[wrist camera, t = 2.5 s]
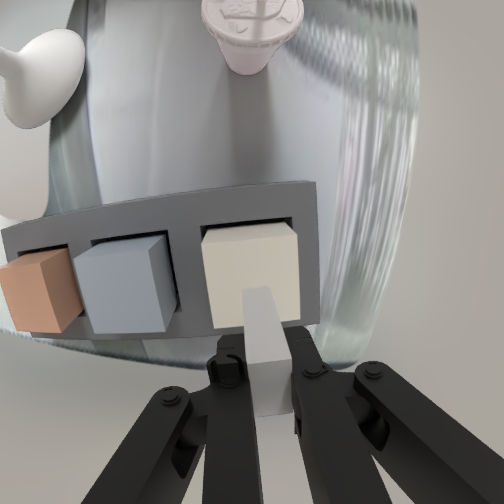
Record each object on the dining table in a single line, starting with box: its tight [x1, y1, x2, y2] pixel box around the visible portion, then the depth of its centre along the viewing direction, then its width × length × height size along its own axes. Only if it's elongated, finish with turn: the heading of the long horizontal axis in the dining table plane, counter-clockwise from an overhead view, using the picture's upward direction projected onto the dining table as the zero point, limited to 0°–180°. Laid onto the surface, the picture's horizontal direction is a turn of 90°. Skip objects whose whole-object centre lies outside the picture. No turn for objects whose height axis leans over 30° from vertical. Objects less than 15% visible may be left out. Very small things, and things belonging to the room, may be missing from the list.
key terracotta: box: [0, 247, 84, 333], centre depth 21 cm, size 6×6×5 cm
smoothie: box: [201, 0, 304, 75], centre depth 15 cm, size 6×6×14 cm
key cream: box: [201, 222, 300, 329], centre depth 21 cm, size 6×6×5 cm
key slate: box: [73, 234, 178, 334], centre depth 21 cm, size 6×6×5 cm
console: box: [1, 181, 320, 340], centre depth 24 cm, size 12×30×4 cm, turn 95°
